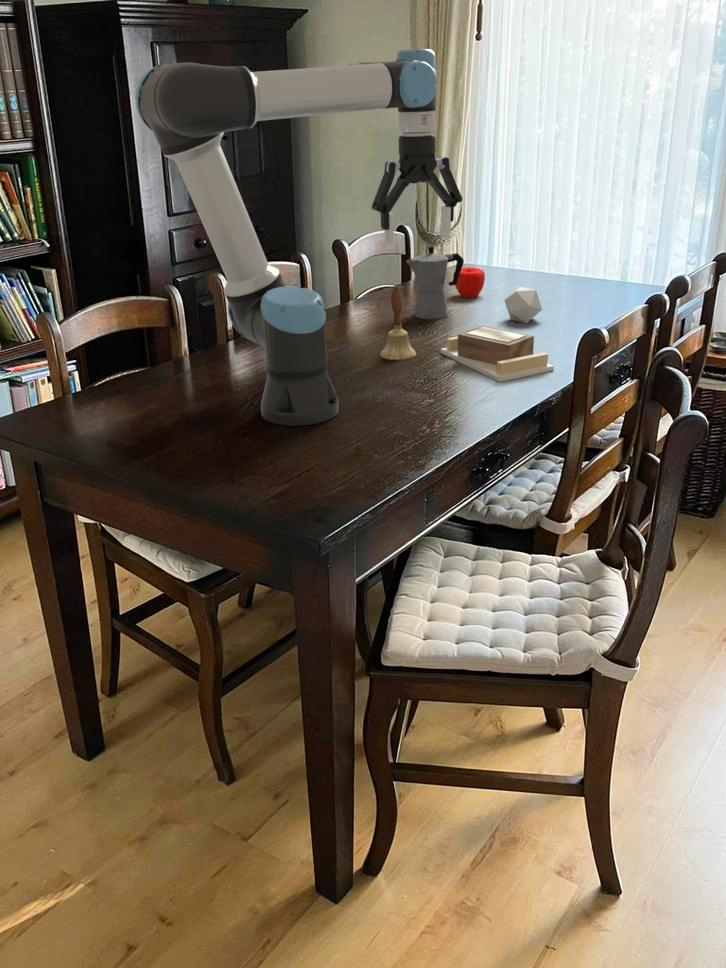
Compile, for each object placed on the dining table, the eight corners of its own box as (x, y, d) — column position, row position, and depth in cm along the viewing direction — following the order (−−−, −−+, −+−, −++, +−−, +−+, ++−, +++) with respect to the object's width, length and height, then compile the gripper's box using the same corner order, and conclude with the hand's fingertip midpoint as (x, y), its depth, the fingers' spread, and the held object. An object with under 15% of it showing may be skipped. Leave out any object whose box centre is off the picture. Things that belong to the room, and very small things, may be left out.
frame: (508, 368, 193) (509, 344, 191) (457, 355, 202) (457, 333, 200) (532, 358, 199) (534, 335, 196) (482, 346, 208) (482, 324, 205)
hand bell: (413, 360, 203) (412, 290, 196) (377, 359, 205) (375, 290, 198) (418, 350, 210) (418, 282, 204) (383, 349, 212) (382, 281, 205)
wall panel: (499, 381, 188) (499, 361, 186) (440, 352, 208) (440, 334, 206) (553, 370, 193) (554, 351, 192) (491, 343, 213) (492, 325, 211)
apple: (453, 292, 260) (453, 265, 256) (484, 292, 259) (484, 265, 255) (453, 300, 252) (453, 272, 248) (484, 300, 251) (485, 272, 247)
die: (548, 322, 230) (541, 286, 232) (536, 313, 222) (530, 275, 224) (516, 332, 234) (510, 296, 236) (504, 323, 226) (498, 286, 228)
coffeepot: (412, 321, 233) (411, 251, 225) (402, 313, 241) (401, 244, 233) (468, 316, 236) (469, 246, 228) (457, 307, 244) (457, 240, 236)
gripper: (369, 139, 173) (373, 251, 182) (479, 130, 183) (477, 237, 192) (353, 137, 179) (357, 245, 188) (460, 129, 189) (459, 232, 198)
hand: (417, 241), depth 190 cm, fingers open, 13 cm apart
